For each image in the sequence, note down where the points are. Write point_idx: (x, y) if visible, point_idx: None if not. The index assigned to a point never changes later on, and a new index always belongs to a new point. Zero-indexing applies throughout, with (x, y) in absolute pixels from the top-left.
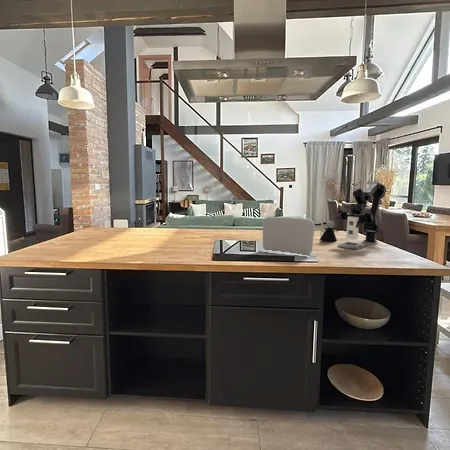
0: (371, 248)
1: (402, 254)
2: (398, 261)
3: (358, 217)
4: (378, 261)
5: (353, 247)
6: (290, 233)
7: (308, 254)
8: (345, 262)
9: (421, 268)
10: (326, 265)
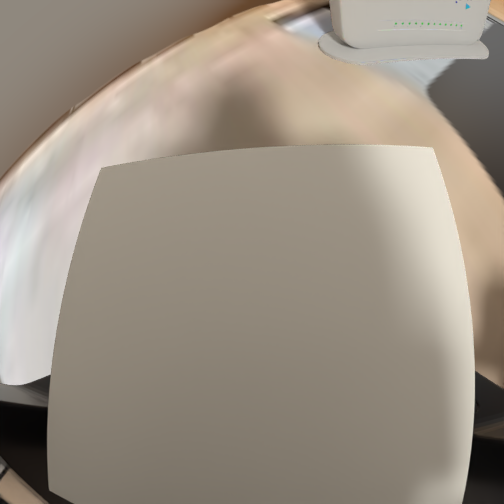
0: None
1: (18, 358)
2: (43, 195)
3: (55, 422)
4: (102, 139)
5: None
6: None
7: (351, 46)
8: (201, 58)
9: (15, 167)
10: (237, 21)
